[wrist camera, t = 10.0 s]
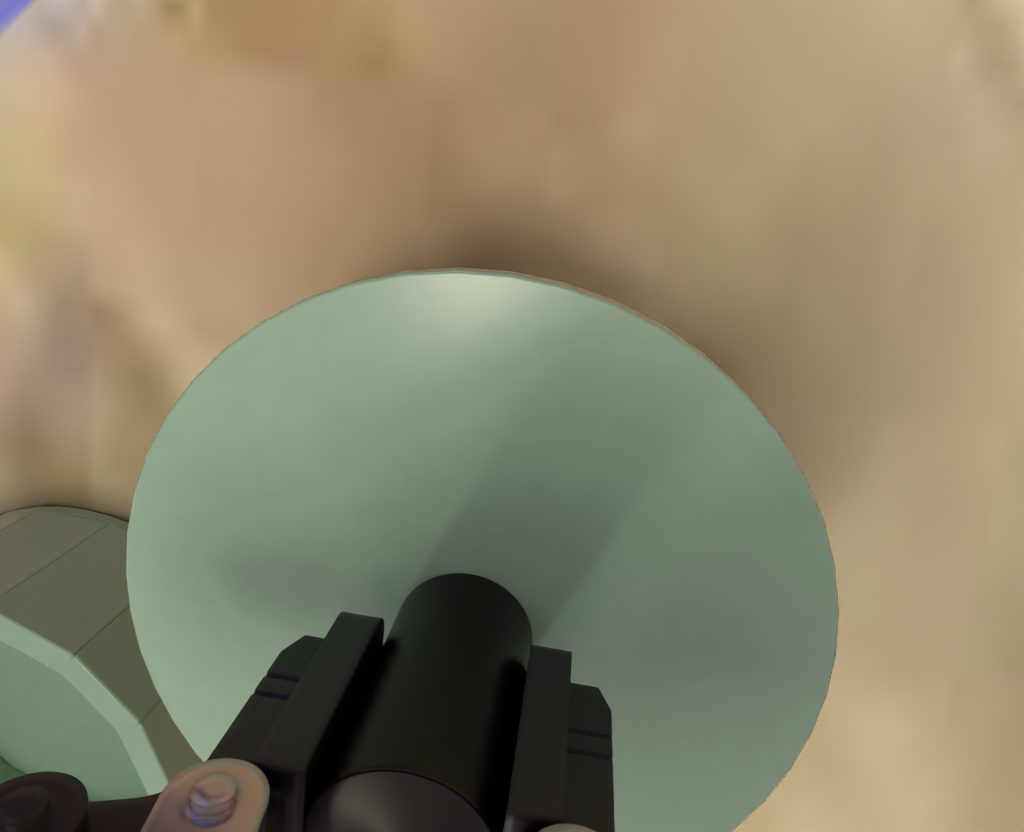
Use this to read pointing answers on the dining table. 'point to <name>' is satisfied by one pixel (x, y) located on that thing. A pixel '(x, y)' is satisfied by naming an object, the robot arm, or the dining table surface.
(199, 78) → the dining table surface
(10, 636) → the pot
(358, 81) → the dining table surface
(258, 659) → the lid
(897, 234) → the dining table surface
